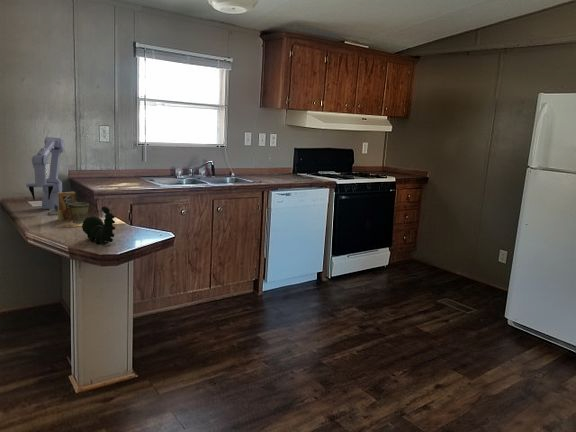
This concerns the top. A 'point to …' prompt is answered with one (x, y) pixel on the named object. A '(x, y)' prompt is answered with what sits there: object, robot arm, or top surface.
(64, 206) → the candy box
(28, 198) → the top surface
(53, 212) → the fader board
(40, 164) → the robot arm
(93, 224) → the toy figurine
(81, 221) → the ceramic cup
